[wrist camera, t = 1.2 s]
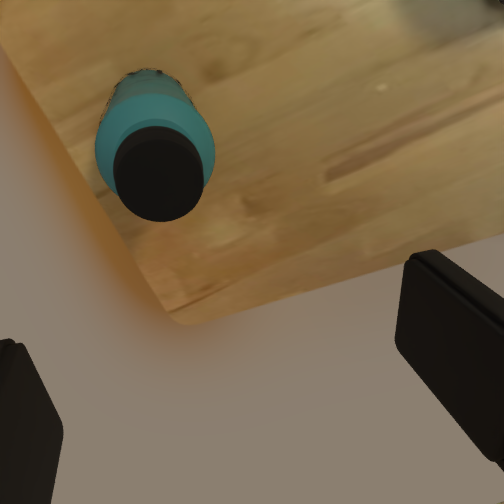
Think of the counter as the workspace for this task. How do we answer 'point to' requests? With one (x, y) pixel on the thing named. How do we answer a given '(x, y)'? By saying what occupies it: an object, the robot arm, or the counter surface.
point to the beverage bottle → (154, 147)
